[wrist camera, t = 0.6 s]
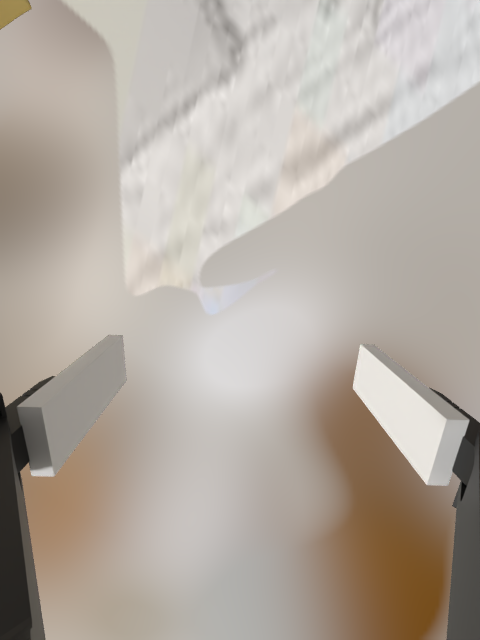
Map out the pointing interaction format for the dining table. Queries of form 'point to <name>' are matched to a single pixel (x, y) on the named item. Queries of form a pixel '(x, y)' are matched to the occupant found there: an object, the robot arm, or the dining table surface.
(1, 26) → the cheese
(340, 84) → the dining table surface
